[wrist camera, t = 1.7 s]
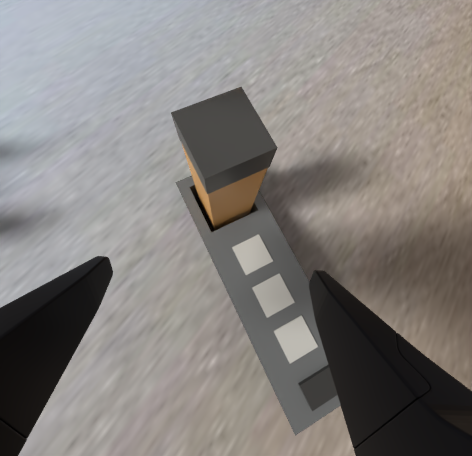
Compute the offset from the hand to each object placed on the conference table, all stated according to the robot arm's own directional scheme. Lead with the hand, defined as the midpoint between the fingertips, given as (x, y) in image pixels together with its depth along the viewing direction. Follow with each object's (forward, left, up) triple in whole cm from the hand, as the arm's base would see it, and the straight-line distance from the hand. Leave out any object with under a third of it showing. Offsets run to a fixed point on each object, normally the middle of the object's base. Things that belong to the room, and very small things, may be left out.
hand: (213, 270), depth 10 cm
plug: (+6, -3, -13) cm, 15 cm away
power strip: (-2, -3, -13) cm, 14 cm away
